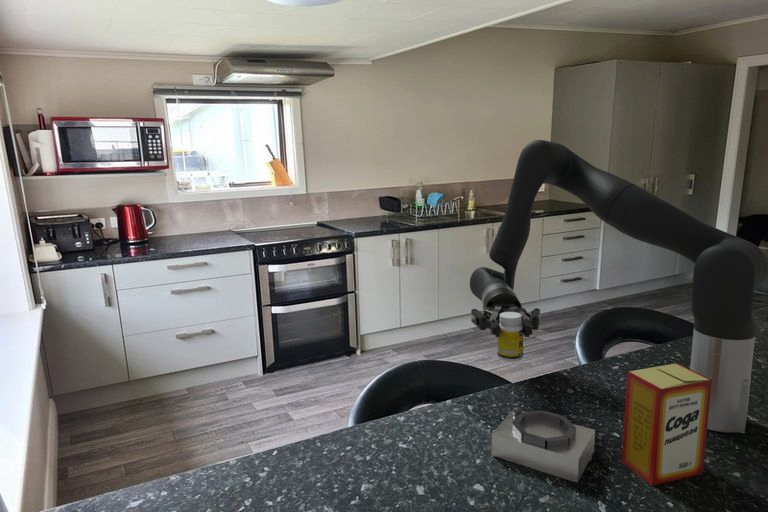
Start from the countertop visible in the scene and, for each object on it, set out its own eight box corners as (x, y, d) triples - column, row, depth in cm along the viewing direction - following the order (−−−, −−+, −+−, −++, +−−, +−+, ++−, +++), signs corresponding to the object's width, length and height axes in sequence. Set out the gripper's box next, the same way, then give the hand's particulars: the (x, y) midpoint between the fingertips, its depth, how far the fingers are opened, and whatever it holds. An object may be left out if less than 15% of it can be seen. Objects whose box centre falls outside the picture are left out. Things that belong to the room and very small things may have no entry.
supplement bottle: (523, 363, 97) (524, 319, 95) (497, 361, 98) (497, 318, 96) (522, 352, 101) (522, 311, 100) (497, 351, 102) (497, 310, 101)
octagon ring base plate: (593, 451, 88) (595, 423, 87) (577, 483, 80) (578, 452, 79) (513, 428, 96) (514, 402, 95) (491, 455, 88) (491, 426, 87)
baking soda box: (652, 485, 79) (659, 386, 76) (621, 461, 85) (627, 369, 82) (702, 473, 82) (712, 377, 78) (669, 451, 88) (677, 361, 85)
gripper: (466, 287, 112) (473, 312, 95) (535, 286, 111) (553, 312, 94) (466, 321, 114) (473, 351, 97) (534, 320, 112) (552, 351, 96)
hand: (512, 331), depth 96 cm, fingers closed on supplement bottle, 4 cm apart
